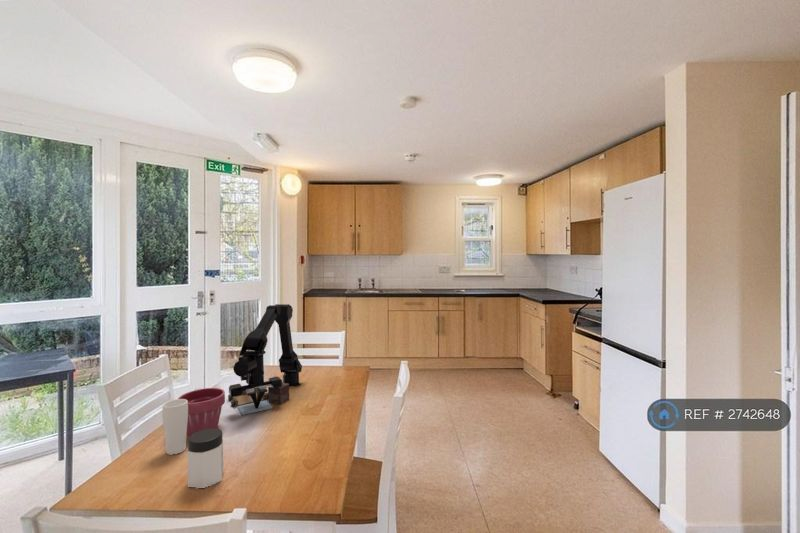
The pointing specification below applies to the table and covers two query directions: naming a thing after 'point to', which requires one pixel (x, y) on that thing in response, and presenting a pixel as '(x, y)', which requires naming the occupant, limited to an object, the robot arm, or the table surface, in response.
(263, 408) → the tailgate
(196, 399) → the plant pot
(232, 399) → the bed
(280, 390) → the box
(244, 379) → the robot arm
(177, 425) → the drinking glass
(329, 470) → the table surface
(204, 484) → the jar
